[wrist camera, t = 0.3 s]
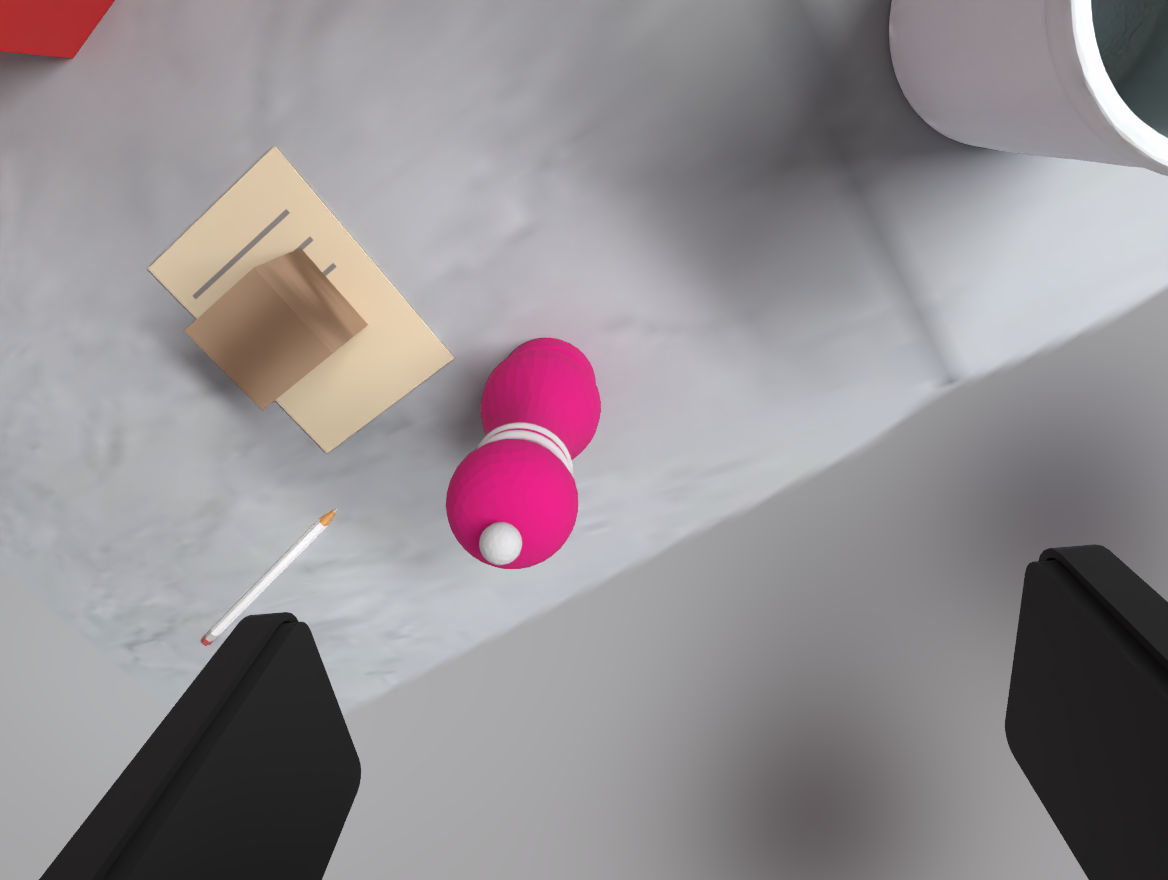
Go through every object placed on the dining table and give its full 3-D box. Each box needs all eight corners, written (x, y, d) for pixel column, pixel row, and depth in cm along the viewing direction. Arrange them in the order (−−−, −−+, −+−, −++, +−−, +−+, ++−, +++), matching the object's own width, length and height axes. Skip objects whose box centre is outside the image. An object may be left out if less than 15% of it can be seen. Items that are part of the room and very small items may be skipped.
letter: (149, 268, 45) (147, 268, 44) (275, 146, 41) (273, 146, 41) (328, 452, 49) (327, 453, 49) (454, 357, 46) (453, 359, 46)
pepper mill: (554, 306, 44) (501, 441, 26) (625, 390, 46) (622, 569, 28) (472, 374, 46) (371, 542, 28) (543, 451, 48) (493, 653, 30)
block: (237, 304, 45) (183, 330, 40) (300, 248, 43) (253, 267, 38) (304, 375, 47) (262, 410, 41) (368, 324, 45) (332, 353, 40)
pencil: (203, 636, 58) (199, 641, 57) (335, 502, 52) (331, 507, 51) (212, 641, 58) (207, 647, 58) (343, 509, 52) (339, 513, 51)
